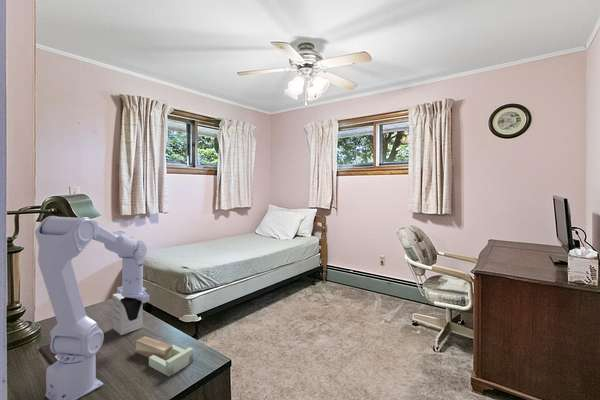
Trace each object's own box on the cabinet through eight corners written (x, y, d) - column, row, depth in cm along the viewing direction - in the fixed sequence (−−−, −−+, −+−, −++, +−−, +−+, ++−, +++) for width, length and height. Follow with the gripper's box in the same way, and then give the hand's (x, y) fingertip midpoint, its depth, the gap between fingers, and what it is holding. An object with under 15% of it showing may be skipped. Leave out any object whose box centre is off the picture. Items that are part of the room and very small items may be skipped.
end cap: (169, 376, 80) (169, 362, 80) (148, 365, 85) (148, 352, 84) (193, 361, 87) (193, 348, 87) (173, 352, 92) (173, 339, 91)
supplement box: (134, 321, 110) (134, 288, 110) (143, 328, 106) (143, 293, 105) (112, 328, 105) (111, 293, 104) (120, 336, 100) (120, 299, 99)
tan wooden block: (164, 364, 86) (164, 350, 86) (135, 353, 91) (135, 340, 91) (172, 358, 89) (172, 345, 89) (144, 348, 94) (144, 336, 93)
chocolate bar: (74, 335, 98) (96, 355, 88) (74, 338, 99) (96, 358, 88) (39, 347, 91) (59, 370, 81) (39, 350, 91) (59, 373, 81)
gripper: (158, 278, 94) (158, 320, 95) (131, 270, 101) (131, 309, 102) (136, 285, 88) (137, 329, 89) (110, 276, 95) (110, 317, 96)
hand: (132, 319), depth 95 cm, fingers closed
